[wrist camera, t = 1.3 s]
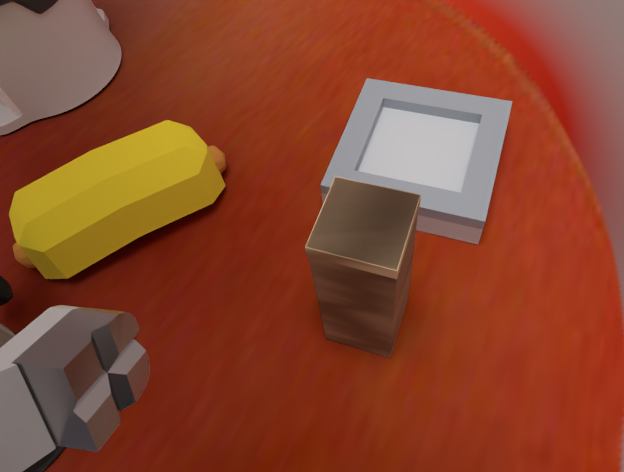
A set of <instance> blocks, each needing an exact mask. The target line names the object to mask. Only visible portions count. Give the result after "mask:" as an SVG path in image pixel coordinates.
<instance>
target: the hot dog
mask: <svg viewBox="0 0 624 472" xmlns="http://www.w3.org/2000/svg"><path fill="white" fill-rule="evenodd" d="M225 169H226V161H225V154H224V153H223V152H222V151H220V150H219V149H218V148H217V147H216V146H207V145H206V143H205V142H204V141H203V140H202V139H201V138H200V137H199V136H198V135H197V133H196V132H195V131H194V130H193V129H192V128H191V127H190V126H186V125H183V124H180V123H176V122H173V121H170V120H166V121H163V122H161V123H158V124H156V125H153V126H151V127H148V128H146V129H143V130H141V131H138V132H136V133H133V134H131V135H128V136H126V137H123V138H121V139H118V140H116V141H113V142H111V143H108V144H106V145H103V146H101V147H98V148H96V149H93V150H91V151H89V152H87V153H85V154H84V155H82V156H80V157H78V158H76V159H74V160H73V161H71V162H69V163H67V164H65V165H63V166H62V167H60V168H58V169H56V170H54V171H53V172H51V173H49V174H47V175H45V176H43V177H42V178H40V179H38V180H36V181H34V182H32V183H31V184H29V185H27V186H25V187H23V188H21V189H20V190H18V191H16V192H15V194H14V197H13V201H12V204H11V208H10V211H9V217H10V221H11V225H12V229H13V233H14V237H15V240H16V243H15V244H14V245H13V251H14V256H15V260H17V261H18V262H19V263H21V264H22V265H23V266H25V267H26V268H35V267H36V268H37V269H38V270H39V272H40V273H41V274H42V275H43V277H44V278H45V279H68V278H70V277H72V276H73V275H75V274H77V273H78V272H80V271H82V270H84V269H85V268H87V267H89V266H90V265H92V264H94V263H96V262H97V261H99V260H101V259H103V258H104V257H106V256H108V255H109V254H111V253H113V252H115V251H116V250H118V249H120V248H121V247H123V246H125V245H127V244H128V243H130V242H132V241H134V240H135V239H137V238H139V237H140V236H143V235H145V234H147V233H149V232H151V231H154V230H156V229H158V228H160V227H162V226H165V225H167V224H169V223H171V222H173V221H175V220H178V219H180V218H182V217H184V216H186V215H189V214H191V213H193V212H195V211H197V210H199V209H202V208H204V207H206V206H208V205H210V204H213V203H214V201H215V200H216V198H217V197H218V196H219V194H220V193H221V192H222V190H223V189H224V188H225V183H224V181H223V178H222V176H221V173H222V172H223V171H224V170H225Z"/></svg>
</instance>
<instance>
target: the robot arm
mask: <svg viewBox="0 0 624 472" xmlns="http://www.w3.org/2000/svg"><path fill="white" fill-rule="evenodd" d="M121 56H122V52H121V47H120V44H119V42H118V41H117V39H116V38H115V37H114V36H113V34H112V33H111V32H110V30H109V20H108V17H107V16H106V14H105V13H104V11H103V10H102V9H98V8H96V7H95V6H94V4H93V2H92V1H91V0H0V135H5V134H8V133H10V132H13V131H15V130H17V129H19V128H21V127H22V126H24V125H26V124H28V123H30V122H32V121H35V120H38V119H42V118H46V117H50V116H54V115H57V114H60V113H63V112H65V111H68V110H70V109H72V108H75V107H77V106H78V105H80V104H82V103H84V102H86V101H87V100H89V99H90V98H92V97H93V96H94V95H96V94H97V93H98V92H99V91H101V90H102V89H103V88H104V87H105V86H106V85H107V84H108V83H109V81H110V80H111V79H112V78H113V76H114V75H115V73H116V71H117V70H118V67H119V65H120V62H121ZM139 332H140V330H139V327H138V325H137V322H136V319H135V317H134V316H133V315H131V314H129V313H127V312H123V311H114V310H105V309H96V308H87V307H74V306H65V305H58V306H54V307H50V308H48V309H47V310H46V311H45V312H43V313H42V314H41V315H40V316H39V317H37V318H36V319H35V320H34V321H33V322H31V323H30V324H29V325H28V326H26V327H25V328H24V329H23V330H22V331H20V332H19V333H18V334H17V335H15V336H14V337H13V338H12V339H11V340H9V341H8V342H7V343H6V344H5V345H3V346H2V347H1V348H0V472H23V471H24V470H25V469H27V468H28V467H30V466H31V465H33V464H34V463H36V462H37V461H38V460H40V459H41V458H43V457H44V456H46V455H47V454H49V453H50V452H52V451H53V450H54V449H56V446H62V447H69V448H75V449H82V450H89V451H96V452H98V451H99V450H100V449H101V447H102V446H103V445H104V443H105V442H106V441H107V439H108V438H109V437H110V436H111V434H112V433H113V432H114V430H115V429H116V428H117V426H118V425H119V424H120V422H121V410H123V409H125V408H127V407H128V406H130V405H132V404H134V403H135V402H136V401H137V400H138V399H139V397H140V396H141V394H142V393H143V392H144V390H145V387H146V384H147V381H148V378H149V375H150V365H149V358H148V355H147V352H146V350H145V349H144V348H143V347H142V346H141V345H140V344H139V343H138V342H137V341H136V338H137V336H138V334H139Z"/></svg>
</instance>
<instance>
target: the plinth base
mask: <svg viewBox="0 0 624 472" xmlns="http://www.w3.org/2000/svg"><path fill="white" fill-rule="evenodd" d="M511 106H512V101H506V100H500V99H494V98H488V97H481V96H475V95H469V94H463V93H456V92H450V91H444V90H437V89H431V88H425V87H419V86H412V85H406V84H400V83H394V82H387V81H381V80H375V79H369V78H367V79H366V82H365V84H364V86H363V89H362V91H361V93H360V96H359V98H358V100H357V102H356V105H355V107H354V109H353V112H352V114H351V116H350V118H349V121H348V123H347V125H346V128H345V130H344V132H343V134H342V137H341V139H340V141H339V144H338V146H337V148H336V151H335V153H334V155H333V157H332V160H331V162H330V164H329V167H328V169H327V171H326V173H325V176H324V178H323V180H322V183H321V192H322V199H323V203H324V201H325V199H326V196H327V194H328V192H329V189H330V187H331V185H332V182H333V180H334V177H335V176H337V177H341V178H346V179H350V180H355V181H360V182H364V183H369V184H374V185H378V186H383V187H388V188H392V189H397V190H402V191H406V192H411V193H416V194H420V195H421V201H420V206H419V209H418V217H417V225H416V230H418V231H422V232H426V233H430V234H435V235H439V236H443V237H448V238H452V239H456V240H460V241H465V242H469V243H473V244H477V245H478V243H479V240H480V237H481V234H482V231H483V227H484V224H485V221H486V216H487V212H488V208H489V203H490V199H491V194H492V190H493V185H494V181H495V177H496V172H497V168H498V163H499V159H500V154H501V150H502V146H503V141H504V137H505V132H506V128H507V123H508V119H509V115H510V110H511Z"/></svg>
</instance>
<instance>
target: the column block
mask: <svg viewBox="0 0 624 472" xmlns="http://www.w3.org/2000/svg"><path fill="white" fill-rule="evenodd" d="M420 201H421V195H420V194H416V193H411V192H406V191H402V190H397V189H392V188H388V187H383V186H378V185H374V184H369V183H364V182H360V181H355V180H350V179H346V178H341V177H337V176H335V177H334V180H333V182H332V185H331V187H330V189H329V192H328V194H327V196H326V199H325V201H324V203H323V206H322V208H321V211H320V213H319V215H318V218H317V220H316V222H315V225H314V227H313V229H312V232H311V234H310V237H309V239H308V241H307V244H306V246H305V250H306V255H307V256H308V257H309V262H310V267H311V271H312V276H313V280H314V285H315V290H316V294H317V299H318V304H319V308H320V313H321V317H322V322H323V327H324V331H325V336H326V339H328V340H331V341H334V342H338V343H341V344H344V345H348V346H351V347H354V348H357V349H361V350H364V351H367V352H370V353H374V354H377V355H380V356H384V357H387V358H390V359H391V356H392V352H393V349H394V346H395V342H396V339H397V335H398V332H399V328H400V325H401V321H402V318H403V314H404V311H405V308H406V304H407V301H408V294H409V286H410V277H411V268H412V260H413V251H414V243H415V234H416V225H417V217H418V209H419V206H420Z"/></svg>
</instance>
